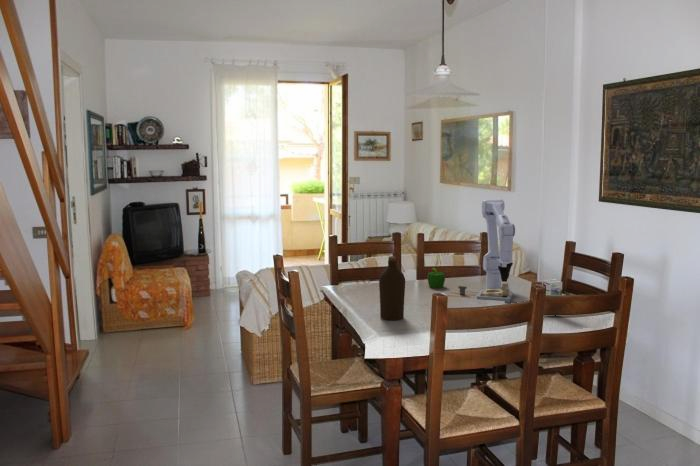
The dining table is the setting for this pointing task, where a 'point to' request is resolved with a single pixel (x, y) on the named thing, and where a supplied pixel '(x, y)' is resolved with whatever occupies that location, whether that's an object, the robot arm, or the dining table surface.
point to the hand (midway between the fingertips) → (505, 279)
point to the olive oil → (392, 292)
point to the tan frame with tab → (497, 291)
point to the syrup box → (553, 287)
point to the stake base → (468, 294)
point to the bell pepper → (436, 279)
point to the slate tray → (494, 297)
